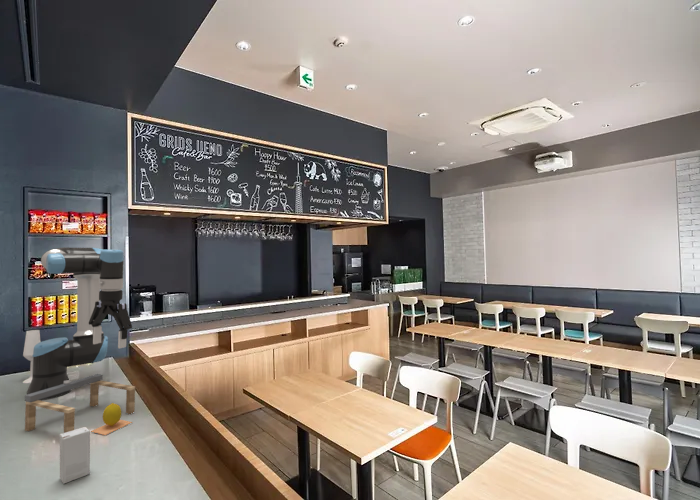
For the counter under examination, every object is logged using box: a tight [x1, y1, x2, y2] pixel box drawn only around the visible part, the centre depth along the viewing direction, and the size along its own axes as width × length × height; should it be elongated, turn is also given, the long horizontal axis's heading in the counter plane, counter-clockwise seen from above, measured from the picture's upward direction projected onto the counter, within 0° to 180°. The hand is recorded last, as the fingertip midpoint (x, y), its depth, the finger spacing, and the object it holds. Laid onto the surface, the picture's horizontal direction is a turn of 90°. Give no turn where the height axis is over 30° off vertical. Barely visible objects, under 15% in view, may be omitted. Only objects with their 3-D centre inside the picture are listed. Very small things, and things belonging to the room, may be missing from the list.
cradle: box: [24, 380, 136, 433], centre depth 133 cm, size 22×24×10 cm
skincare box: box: [59, 426, 91, 484], centre depth 99 cm, size 6×4×12 cm
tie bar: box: [24, 373, 104, 403], centre depth 136 cm, size 3×25×3 cm, turn 160°
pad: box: [90, 419, 133, 436], centre depth 127 cm, size 7×10×1 cm
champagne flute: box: [22, 329, 41, 384], centre depth 176 cm, size 7×7×24 cm
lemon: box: [102, 402, 122, 426], centre depth 128 cm, size 6×6×8 cm
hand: (109, 345), depth 139 cm, fingers open, 13 cm apart
